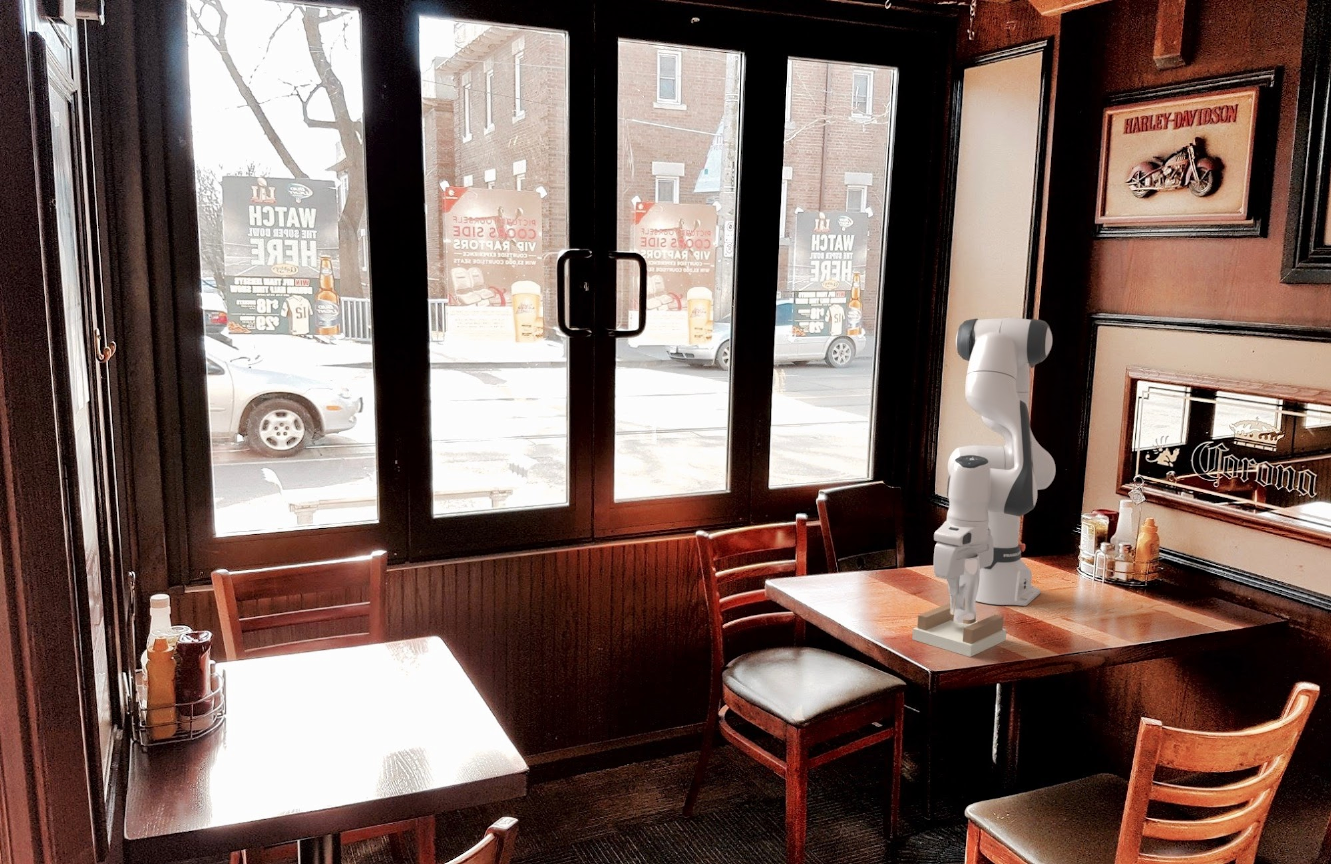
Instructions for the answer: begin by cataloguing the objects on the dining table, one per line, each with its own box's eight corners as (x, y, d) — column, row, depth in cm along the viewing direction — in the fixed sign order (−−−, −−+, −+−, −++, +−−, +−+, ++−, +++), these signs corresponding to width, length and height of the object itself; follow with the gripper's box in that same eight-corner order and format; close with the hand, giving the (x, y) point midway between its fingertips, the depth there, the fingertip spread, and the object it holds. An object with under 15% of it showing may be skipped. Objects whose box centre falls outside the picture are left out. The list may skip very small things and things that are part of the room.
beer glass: (980, 626, 215) (981, 559, 212) (946, 624, 216) (947, 558, 214) (977, 615, 221) (979, 550, 219) (945, 613, 223) (946, 549, 220)
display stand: (949, 624, 230) (950, 601, 229) (1005, 640, 220) (1007, 616, 219) (912, 639, 219) (913, 615, 218) (970, 657, 209) (972, 632, 208)
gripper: (976, 521, 225) (972, 580, 227) (929, 534, 211) (925, 596, 213) (1002, 526, 221) (998, 586, 223) (956, 539, 207) (952, 603, 209)
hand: (962, 591), depth 218 cm, fingers closed on beer glass, 6 cm apart
